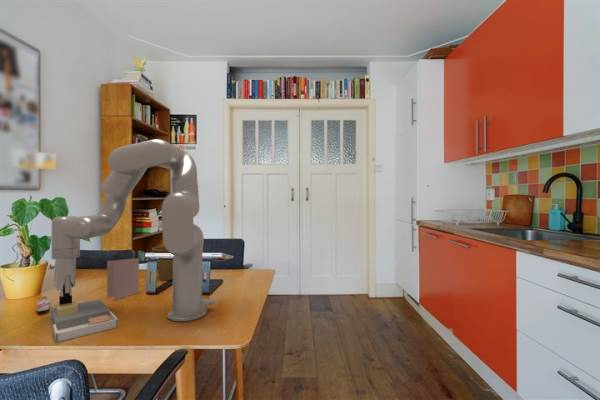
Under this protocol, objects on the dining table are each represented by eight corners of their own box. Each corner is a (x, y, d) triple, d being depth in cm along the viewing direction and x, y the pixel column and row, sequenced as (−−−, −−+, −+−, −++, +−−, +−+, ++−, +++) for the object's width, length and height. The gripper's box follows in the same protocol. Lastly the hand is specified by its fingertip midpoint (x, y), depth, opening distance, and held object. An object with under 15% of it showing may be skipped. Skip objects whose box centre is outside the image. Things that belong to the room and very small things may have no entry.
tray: (111, 318, 99) (111, 311, 99) (117, 327, 93) (117, 319, 93) (53, 332, 89) (53, 324, 89) (55, 343, 82) (56, 334, 82)
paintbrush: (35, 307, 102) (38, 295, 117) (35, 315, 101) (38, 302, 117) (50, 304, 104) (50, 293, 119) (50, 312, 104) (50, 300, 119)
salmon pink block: (110, 318, 92) (110, 327, 92) (107, 314, 95) (107, 322, 95) (91, 323, 88) (91, 332, 88) (88, 318, 92) (88, 326, 92)
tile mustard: (75, 309, 100) (75, 301, 100) (77, 313, 96) (77, 305, 96) (56, 313, 96) (56, 305, 96) (57, 317, 93) (57, 309, 93)
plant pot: (188, 278, 151) (189, 247, 151) (158, 284, 140) (158, 250, 140) (177, 273, 161) (177, 244, 161) (148, 278, 151) (148, 247, 151)
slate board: (99, 307, 110) (99, 299, 110) (109, 319, 99) (109, 310, 99) (50, 317, 101) (50, 308, 101) (55, 332, 89) (55, 322, 89)
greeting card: (138, 292, 128) (138, 257, 128) (140, 296, 122) (140, 260, 122) (106, 297, 122) (107, 260, 122) (107, 302, 116) (107, 263, 116)
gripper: (49, 251, 102) (49, 304, 102) (53, 257, 92) (52, 317, 91) (76, 249, 108) (76, 299, 107) (83, 254, 97) (82, 311, 97)
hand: (65, 307), depth 99 cm, fingers closed
